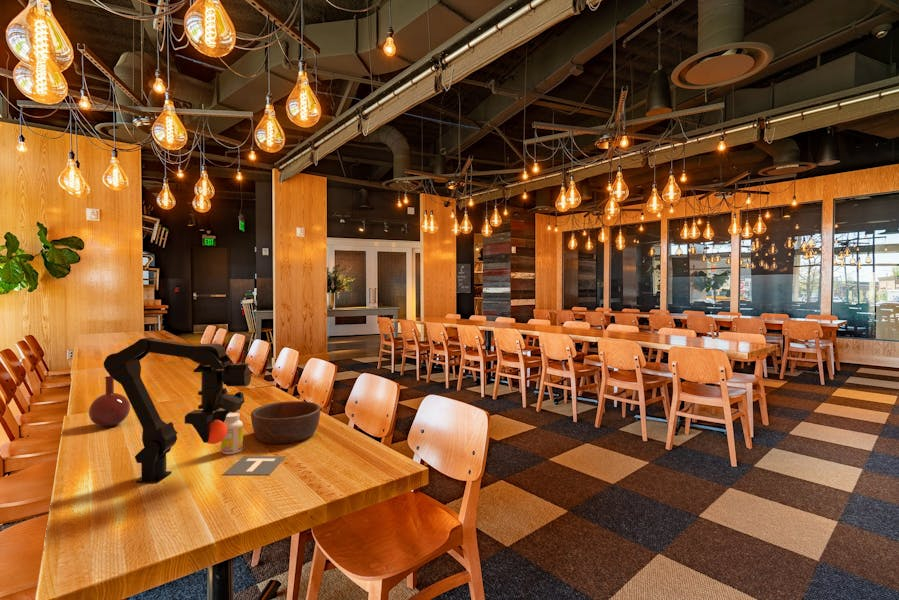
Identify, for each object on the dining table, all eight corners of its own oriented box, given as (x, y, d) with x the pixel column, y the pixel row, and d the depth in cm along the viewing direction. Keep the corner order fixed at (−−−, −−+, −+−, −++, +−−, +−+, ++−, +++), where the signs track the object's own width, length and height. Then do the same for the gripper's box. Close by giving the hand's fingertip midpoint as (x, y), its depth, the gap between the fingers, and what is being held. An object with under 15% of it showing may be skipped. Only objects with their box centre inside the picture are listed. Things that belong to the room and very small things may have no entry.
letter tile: (269, 475, 130) (269, 474, 130) (222, 475, 129) (222, 474, 129) (285, 456, 144) (285, 456, 144) (243, 456, 143) (243, 456, 143)
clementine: (193, 448, 124) (193, 424, 124) (200, 440, 130) (200, 417, 130) (224, 446, 126) (224, 422, 126) (229, 438, 133) (229, 415, 132)
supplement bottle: (239, 446, 153) (239, 410, 152) (245, 451, 148) (245, 414, 147) (219, 450, 148) (219, 414, 148) (224, 456, 143) (224, 418, 143)
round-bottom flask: (88, 425, 174) (87, 376, 173) (128, 418, 182) (128, 372, 182) (89, 433, 164) (88, 381, 163) (131, 426, 173) (131, 377, 172)
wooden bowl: (262, 453, 147) (262, 423, 147) (243, 433, 166) (243, 407, 166) (331, 437, 163) (331, 411, 163) (306, 421, 182) (306, 397, 182)
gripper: (224, 394, 119) (224, 450, 119) (253, 380, 137) (253, 428, 138) (183, 394, 118) (183, 449, 119) (218, 379, 137) (218, 428, 138)
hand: (212, 438), depth 128 cm, fingers closed on clementine, 7 cm apart
